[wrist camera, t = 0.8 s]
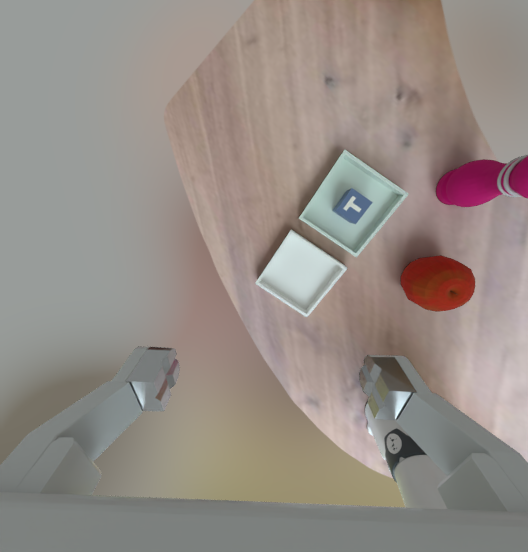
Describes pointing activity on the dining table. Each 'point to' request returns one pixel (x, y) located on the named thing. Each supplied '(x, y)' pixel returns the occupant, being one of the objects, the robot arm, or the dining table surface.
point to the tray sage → (336, 183)
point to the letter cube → (352, 206)
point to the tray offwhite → (300, 273)
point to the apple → (438, 283)
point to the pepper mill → (484, 182)
